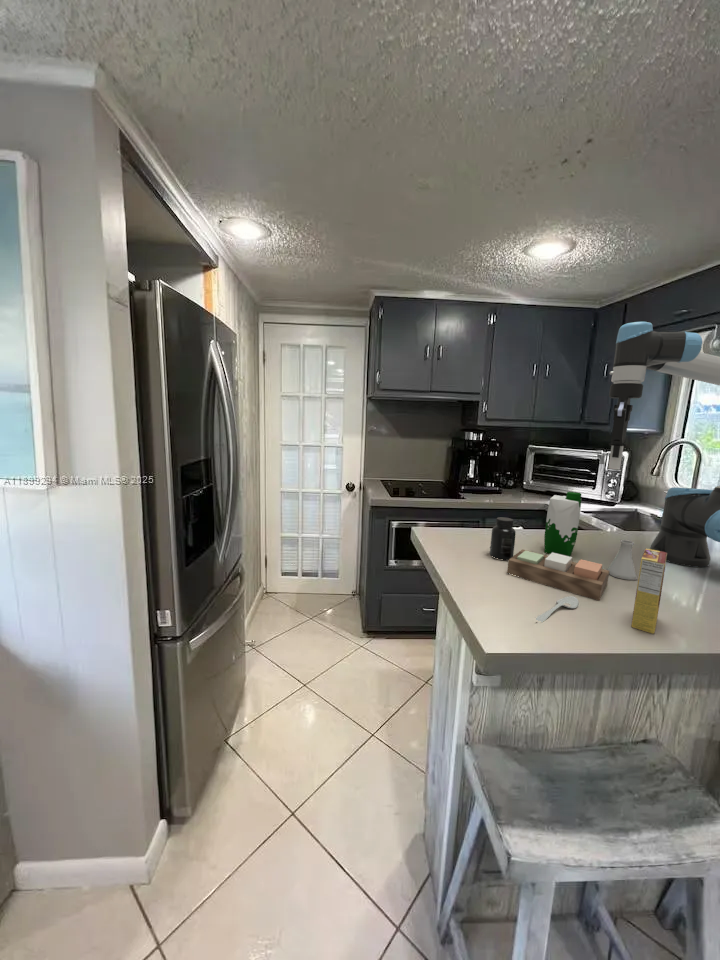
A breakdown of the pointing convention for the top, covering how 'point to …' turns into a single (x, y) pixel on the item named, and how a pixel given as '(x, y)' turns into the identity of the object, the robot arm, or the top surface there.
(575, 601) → the spoon
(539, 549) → the top surface
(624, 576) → the flask
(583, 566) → the terracotta key
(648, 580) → the candy box
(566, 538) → the milk carton
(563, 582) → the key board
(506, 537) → the supplement bottle
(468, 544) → the top surface
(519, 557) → the sage key
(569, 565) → the white rectangular block
